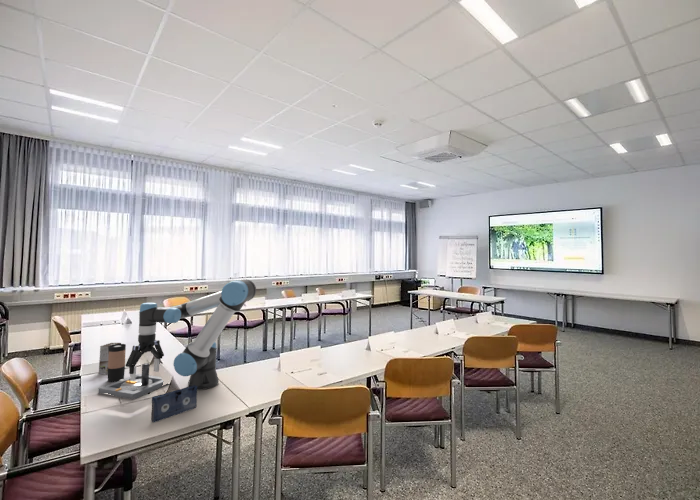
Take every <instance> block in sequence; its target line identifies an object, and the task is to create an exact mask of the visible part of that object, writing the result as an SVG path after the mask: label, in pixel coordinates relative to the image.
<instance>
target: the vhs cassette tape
mask: <svg viewBox="0 0 700 500" xmlns="http://www.w3.org/2000/svg"><path fill="white" fill-rule="evenodd" d="M197 401H198V390H197V386H196V385H193V386H190V387H188V386H187V387H183V388H180V389H179V388H178V389H176V390H173V391H168V392H165V393H162V394H158V395H154V396H152V397H151V412H150V413H151V416H150V419H151V420H150V421H151V422H152V423H156V422H159V421H162V420H165V419H169V418H171V417H174V416H177V415H180V414H183V413H185V412H189V411H191V410H194V409H196V408H197V407H198V406H197V405H198V404H197V403H198V402H197Z"/></svg>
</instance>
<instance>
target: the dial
mask: <svg viewBox="0 0 700 500" xmlns="http://www.w3.org/2000/svg"><path fill="white" fill-rule="evenodd" d="M141 374H142V378H141V379H136V380H135V381H133V380H131V381H126V382H125V383H122V384H121V385H120V388H122V389H124V390H130V391H136V390H138V389H141V388H143V387H146V386H148V385H151V384H152V380H150V379H149V375H150V362H149V363H146V362H145V363H142V365H141Z"/></svg>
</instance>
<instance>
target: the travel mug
mask: <svg viewBox="0 0 700 500" xmlns="http://www.w3.org/2000/svg"><path fill="white" fill-rule="evenodd" d="M126 347H127V345H126V344H125V343H121V344H115V345H111V346H109V356H108V374H107V382H108V383H115V382H117V381H119V380H121V379H125V370H126V366H125V365H126V349H127V348H126Z"/></svg>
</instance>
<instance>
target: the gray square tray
mask: <svg viewBox="0 0 700 500" xmlns="http://www.w3.org/2000/svg"><path fill="white" fill-rule="evenodd" d="M161 377H162V376H157V375H152V374H151V375H150V374H149V379H150V380H152V384H151V385H148V386H146V387H143V388H141V389H138V390H136V391H130V390H124V389H122V388H120V385H121V384H122V383H125V382H126V381H131V380H130V376H128V377H126V378H124V379H121V380H119V381H117V382H111V383H110V384H107V385H106V384H105V385H103V386H101V387H98V389H97V390H98V391H97V392H98V394H100V393H108V394H111V395H114V396H113V397H116V396H117V398H121V399H123V398H124V399H129V400H136V399H138V398H140V397H143V396H145V395H147V394H149V393H152V392H155V391H157V390H158V389H161V388H163V387H162V385H163V382H164V381H163V380H162V378H161ZM141 378H142V373H138V374H137V373H136V379H141ZM111 395H110V396H111Z"/></svg>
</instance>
